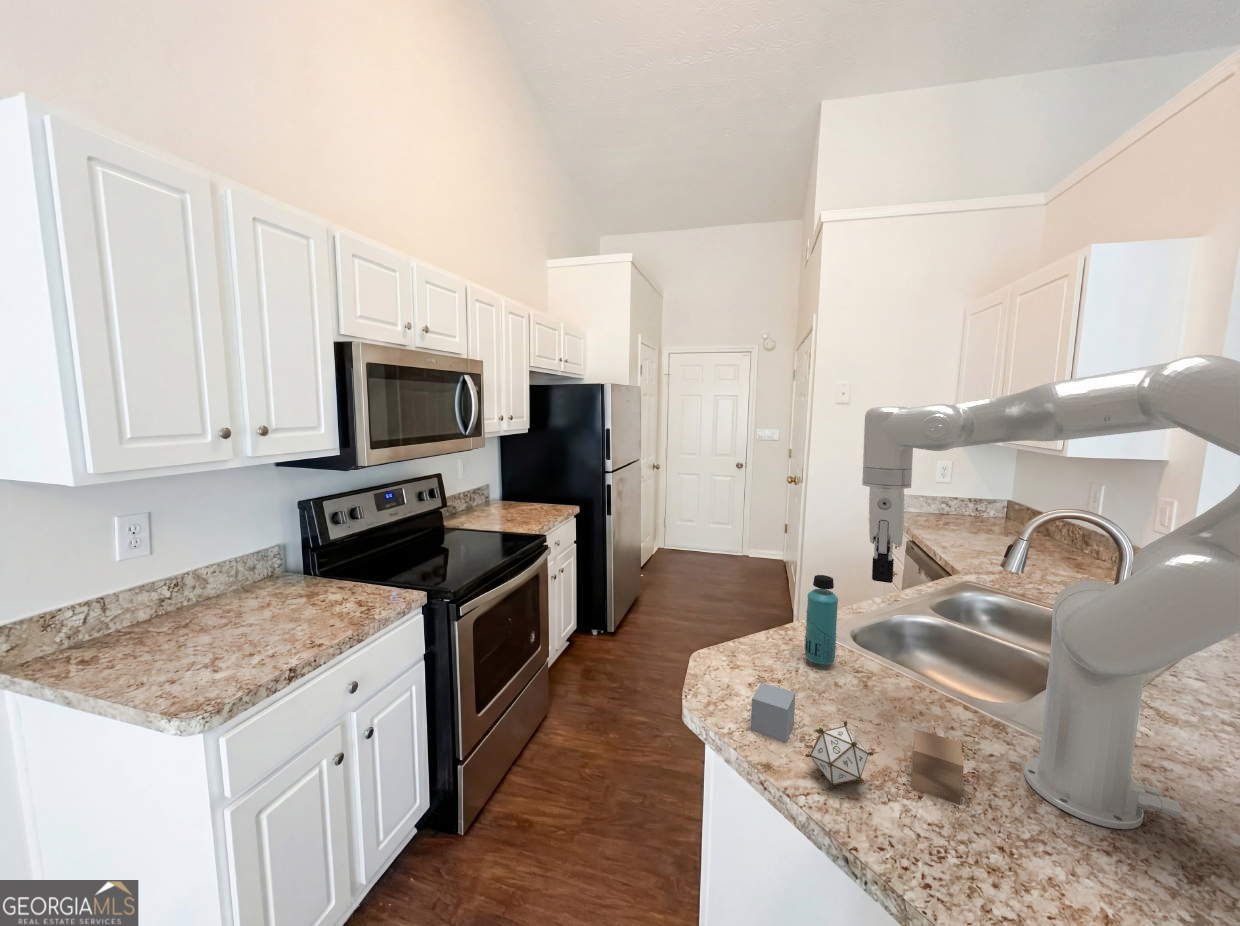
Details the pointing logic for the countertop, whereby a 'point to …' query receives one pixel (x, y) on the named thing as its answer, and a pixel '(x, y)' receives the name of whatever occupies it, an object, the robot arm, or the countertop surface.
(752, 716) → the slate block
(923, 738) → the walnut block
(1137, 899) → the countertop surface
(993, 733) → the countertop surface
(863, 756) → the game die
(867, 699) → the countertop surface
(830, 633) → the beverage bottle
